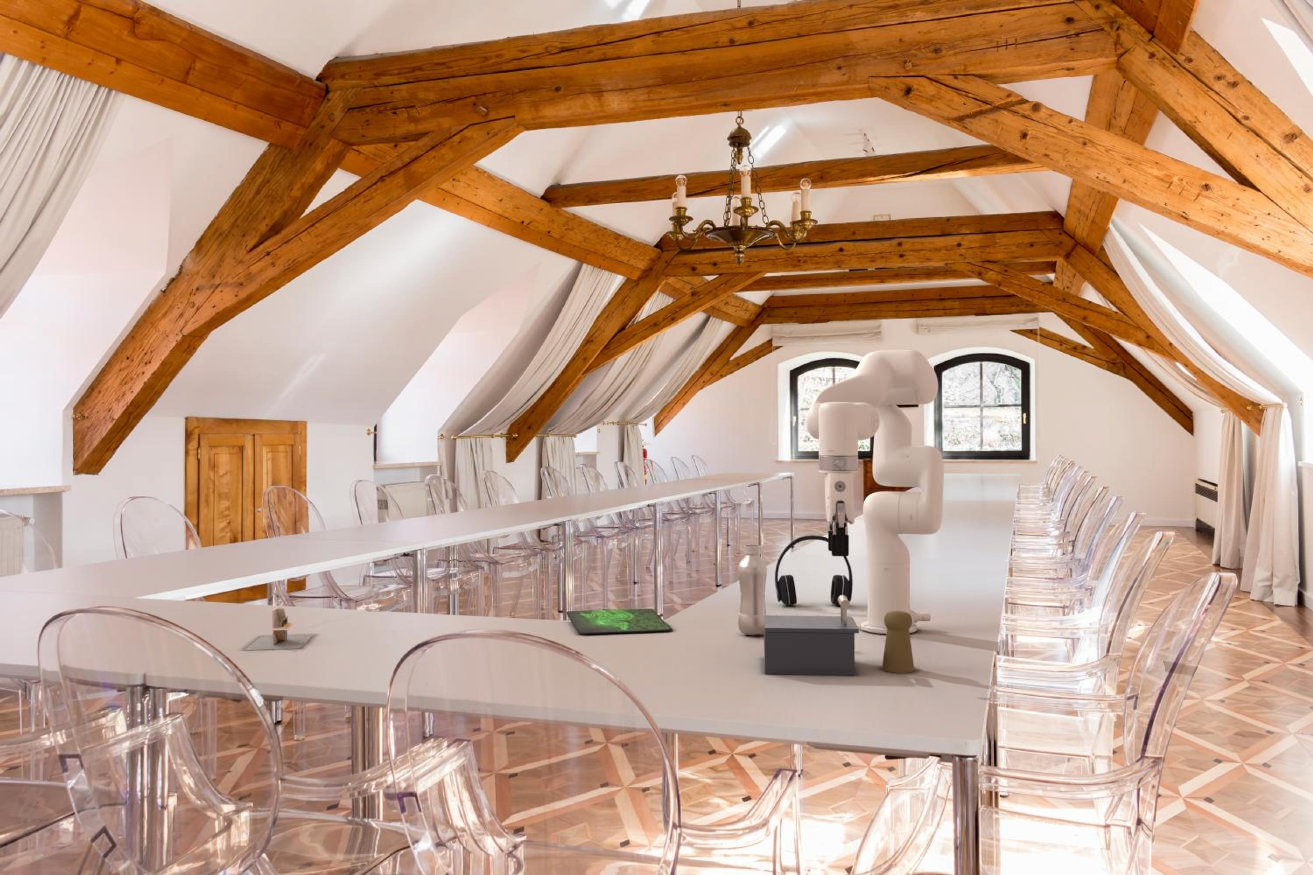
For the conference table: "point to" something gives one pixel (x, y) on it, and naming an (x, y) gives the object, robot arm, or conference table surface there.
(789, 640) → the dark grey bin
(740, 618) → the plastic bottle
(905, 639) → the cork
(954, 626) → the conference table surface
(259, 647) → the architectural model
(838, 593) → the headphones
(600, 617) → the mouse mat
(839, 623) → the box lid with handle
